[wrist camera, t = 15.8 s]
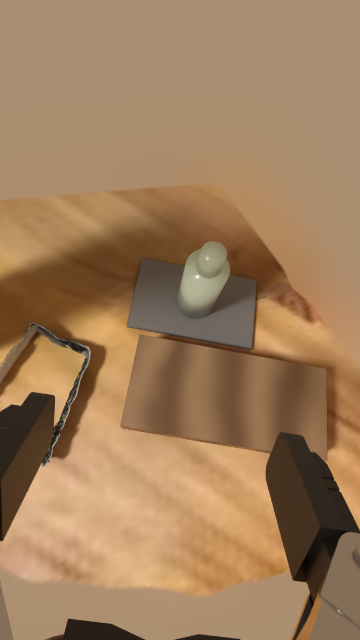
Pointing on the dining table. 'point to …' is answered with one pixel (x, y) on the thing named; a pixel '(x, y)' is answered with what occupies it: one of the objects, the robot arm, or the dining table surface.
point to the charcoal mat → (164, 317)
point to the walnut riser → (224, 396)
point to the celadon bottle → (203, 280)
